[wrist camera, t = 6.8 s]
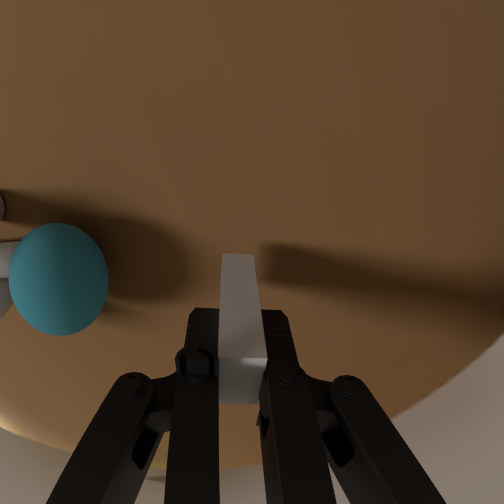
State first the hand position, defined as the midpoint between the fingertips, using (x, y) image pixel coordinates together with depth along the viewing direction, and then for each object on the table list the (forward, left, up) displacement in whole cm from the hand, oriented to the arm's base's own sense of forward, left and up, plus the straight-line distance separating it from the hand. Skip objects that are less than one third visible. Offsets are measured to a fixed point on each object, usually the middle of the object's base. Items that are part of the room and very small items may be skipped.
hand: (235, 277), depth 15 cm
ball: (+9, +4, +1) cm, 10 cm away
